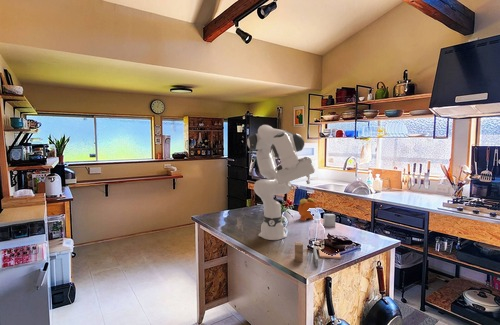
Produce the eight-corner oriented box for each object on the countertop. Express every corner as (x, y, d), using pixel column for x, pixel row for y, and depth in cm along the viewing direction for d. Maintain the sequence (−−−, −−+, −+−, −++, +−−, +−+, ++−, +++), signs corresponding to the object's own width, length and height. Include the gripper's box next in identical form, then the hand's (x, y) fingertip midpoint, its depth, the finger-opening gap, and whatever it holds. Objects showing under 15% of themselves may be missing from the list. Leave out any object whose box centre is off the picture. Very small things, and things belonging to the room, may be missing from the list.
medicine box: (333, 224, 211) (333, 213, 210) (335, 226, 207) (335, 215, 206) (323, 225, 211) (323, 213, 210) (324, 226, 206) (325, 215, 206)
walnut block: (294, 258, 152) (294, 242, 151) (302, 258, 151) (302, 242, 151) (294, 261, 148) (294, 244, 147) (302, 261, 147) (302, 245, 146)
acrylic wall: (313, 252, 159) (313, 245, 159) (315, 252, 159) (315, 246, 158) (315, 266, 141) (315, 259, 141) (318, 267, 141) (318, 259, 141)
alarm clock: (310, 217, 233) (311, 193, 231) (315, 218, 227) (315, 194, 225) (297, 219, 227) (297, 194, 225) (302, 220, 222) (302, 196, 220)
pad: (318, 249, 164) (318, 247, 164) (337, 250, 163) (337, 248, 162) (319, 257, 153) (319, 255, 152) (340, 258, 151) (340, 257, 151)
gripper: (309, 154, 146) (319, 178, 146) (274, 167, 152) (283, 191, 153) (308, 156, 140) (318, 181, 140) (271, 169, 146) (281, 194, 147)
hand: (300, 186), depth 147 cm, fingers open, 8 cm apart
